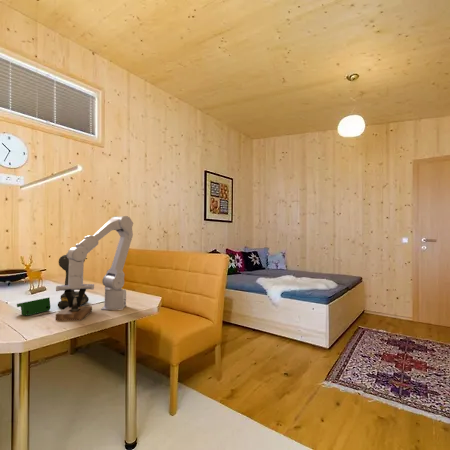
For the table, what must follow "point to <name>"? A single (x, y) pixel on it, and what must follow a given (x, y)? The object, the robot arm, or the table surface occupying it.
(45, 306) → the green block
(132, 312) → the table surface
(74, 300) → the metal cylinder
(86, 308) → the holder
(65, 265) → the cordless drill
